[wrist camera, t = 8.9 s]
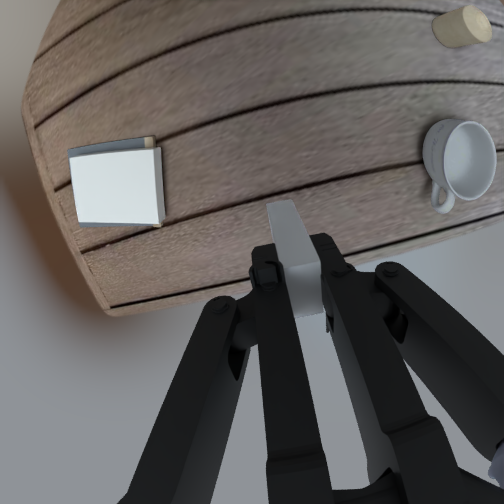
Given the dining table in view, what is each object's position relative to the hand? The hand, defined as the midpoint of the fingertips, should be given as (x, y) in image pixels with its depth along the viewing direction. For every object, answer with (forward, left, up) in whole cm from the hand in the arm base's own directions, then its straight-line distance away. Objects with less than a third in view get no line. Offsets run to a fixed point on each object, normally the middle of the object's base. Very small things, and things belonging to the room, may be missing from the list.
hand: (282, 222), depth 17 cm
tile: (-9, -12, -20) cm, 25 cm away
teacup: (+16, +20, -23) cm, 34 cm away
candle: (+2, +36, -23) cm, 42 cm away
